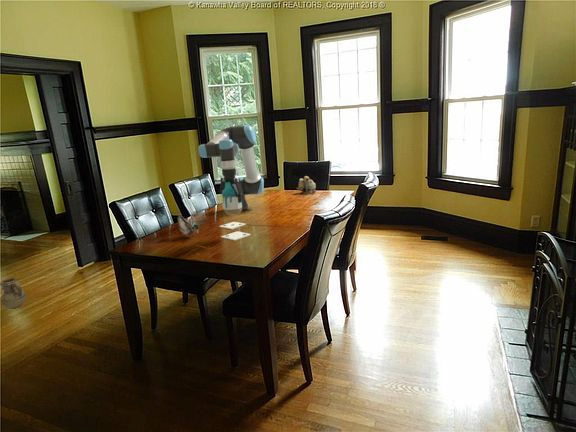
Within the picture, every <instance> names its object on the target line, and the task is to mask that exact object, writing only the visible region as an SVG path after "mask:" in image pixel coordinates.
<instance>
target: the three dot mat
mask: <svg viewBox="0 0 576 432" xmlns="http://www.w3.org/2000/svg"><path fill="white" fill-rule="evenodd" d="M243 226H247V223H243V222H237V221H232V222H231V221H230V222H228V223H225V224H222V225H219V228H222V229H228V230H234V229H238V228H240V227H243Z"/></svg>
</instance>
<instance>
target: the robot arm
mask: <svg viewBox="0 0 576 432" xmlns="http://www.w3.org/2000/svg"><path fill="white" fill-rule="evenodd" d="M256 142H257V135H256V131H255V128H254V127H253V126H252V125H241V126H240V125H239V126H228V127H225V128H222V129H221V130H219V131H217V132H216V134H215V135H214V137H213V138H212V139H211V140H209V141H208V143H203V144H200V145H199V146H198V150H197V151H198V155H199V157H200V158H205V159H207V158H220V162H221V163H220V164H221V173H222V177H220V185H219V194H220V195H222V191H223V190H224V189H225V182H230V184H231V187H233V189H234V191H235V193H236V195H237V197H236V201H237V209H240V208H242V211H245V210H246V211H247V210H248V209H249V204H248V202H247V199H246V196H251V195H262V194H263V193H264V188H265V187H264V185H265V184H264V183H265V180H264V177H261V176H262V175H260V174H259V172H258V168H257V162H256V161H257V160H256V156H255V152H254V151H255V150H254V146H255V144H256ZM239 150H240V151H241V157H242V162H243V167H244V172H245V177H243V176H241V177H240V176H239V177H236V175H237V168H236V159H235V156H236V155H237V154H238V153H239ZM234 183H235V184H234ZM238 194H239V195H238ZM241 199H242V200H241ZM241 202H242V204H241Z"/></svg>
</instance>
